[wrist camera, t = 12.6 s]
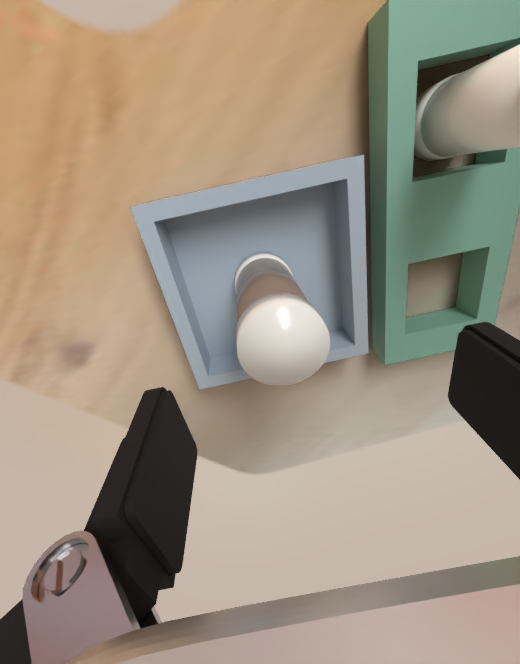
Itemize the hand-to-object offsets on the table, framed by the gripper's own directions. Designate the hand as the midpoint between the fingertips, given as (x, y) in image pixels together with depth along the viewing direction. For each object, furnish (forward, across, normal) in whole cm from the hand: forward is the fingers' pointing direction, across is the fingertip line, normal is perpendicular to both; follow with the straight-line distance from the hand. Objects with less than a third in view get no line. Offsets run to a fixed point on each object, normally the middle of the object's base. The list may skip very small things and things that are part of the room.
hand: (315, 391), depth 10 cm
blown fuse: (+14, +1, +1) cm, 14 cm away
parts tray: (+14, +1, +1) cm, 14 cm away
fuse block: (+15, -12, -1) cm, 19 cm away
